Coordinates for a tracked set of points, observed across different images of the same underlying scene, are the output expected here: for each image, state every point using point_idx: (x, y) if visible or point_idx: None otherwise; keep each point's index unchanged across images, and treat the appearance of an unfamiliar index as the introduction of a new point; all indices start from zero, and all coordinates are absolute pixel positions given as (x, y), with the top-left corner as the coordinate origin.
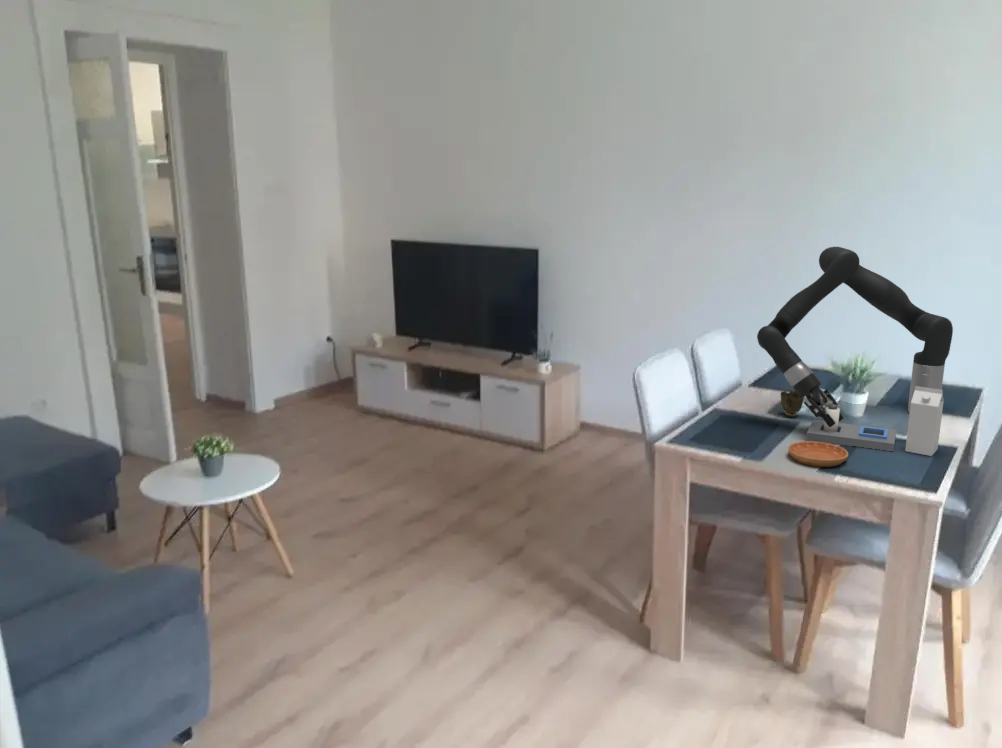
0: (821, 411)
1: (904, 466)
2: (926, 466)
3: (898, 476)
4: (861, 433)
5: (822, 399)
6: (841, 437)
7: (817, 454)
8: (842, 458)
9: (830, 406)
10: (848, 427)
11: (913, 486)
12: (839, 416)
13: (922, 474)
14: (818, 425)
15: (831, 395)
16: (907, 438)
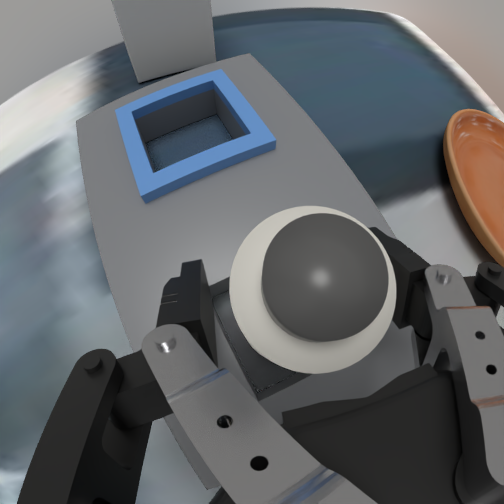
0: (501, 271)
1: (331, 41)
2: (284, 23)
3: (392, 43)
4: (266, 132)
5: (470, 392)
6: (364, 192)
7: (501, 200)
8: (487, 114)
9: (385, 275)
10: (175, 256)
11: (400, 29)
12: (203, 286)
13: (337, 22)
14: (293, 406)
15: (35, 464)
16: (212, 27)
